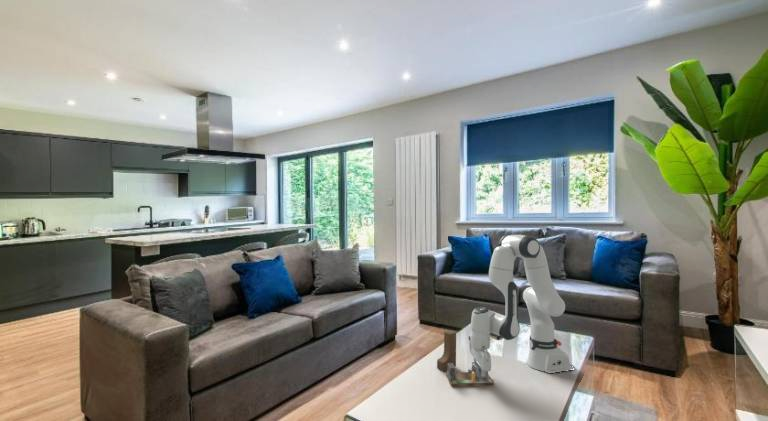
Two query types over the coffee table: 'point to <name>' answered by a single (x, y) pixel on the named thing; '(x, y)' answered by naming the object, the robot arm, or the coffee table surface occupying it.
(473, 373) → the amber brick
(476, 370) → the block
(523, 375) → the coffee table surface
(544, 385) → the coffee table surface
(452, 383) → the bench
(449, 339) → the wooden block
